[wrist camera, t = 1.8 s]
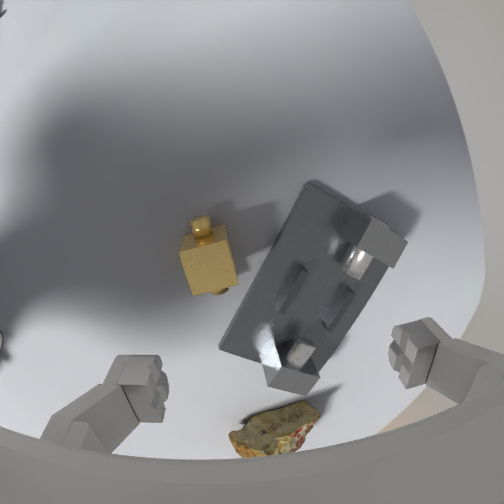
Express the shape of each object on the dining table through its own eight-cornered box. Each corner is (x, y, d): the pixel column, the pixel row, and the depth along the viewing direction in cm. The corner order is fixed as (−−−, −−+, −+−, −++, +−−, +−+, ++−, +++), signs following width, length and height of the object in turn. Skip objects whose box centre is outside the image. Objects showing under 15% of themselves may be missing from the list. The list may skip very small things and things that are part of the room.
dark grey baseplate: (310, 375, 37) (321, 401, 32) (217, 346, 33) (218, 374, 29) (399, 236, 32) (424, 249, 27) (307, 179, 29) (324, 185, 24)
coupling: (238, 276, 31) (243, 300, 26) (200, 285, 31) (198, 311, 26) (220, 208, 29) (221, 220, 24) (180, 219, 29) (172, 233, 23)
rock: (280, 383, 43) (321, 406, 34) (299, 420, 44) (338, 444, 35) (215, 425, 38) (245, 460, 29) (241, 460, 39) (272, 494, 30)
